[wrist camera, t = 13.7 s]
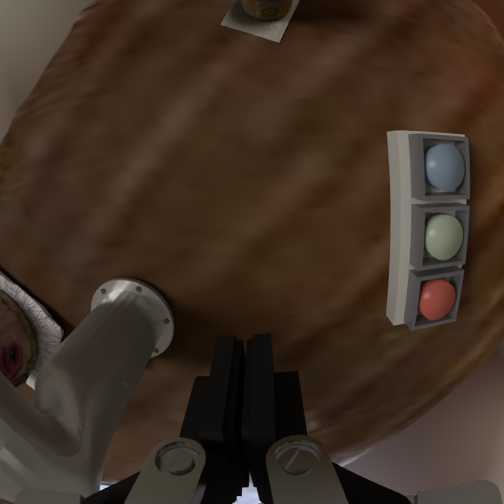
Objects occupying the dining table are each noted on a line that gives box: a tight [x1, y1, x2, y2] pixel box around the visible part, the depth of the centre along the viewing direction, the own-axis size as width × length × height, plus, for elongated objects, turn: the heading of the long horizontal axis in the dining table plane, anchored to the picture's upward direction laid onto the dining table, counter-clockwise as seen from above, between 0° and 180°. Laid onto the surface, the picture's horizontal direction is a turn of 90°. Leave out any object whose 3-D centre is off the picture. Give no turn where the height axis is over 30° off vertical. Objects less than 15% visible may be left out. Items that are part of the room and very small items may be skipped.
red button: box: [418, 278, 456, 320], centre depth 33 cm, size 5×5×2 cm
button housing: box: [386, 131, 470, 331], centre depth 33 cm, size 24×10×6 cm, turn 6°
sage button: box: [424, 213, 463, 260], centre depth 31 cm, size 5×5×2 cm
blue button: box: [424, 144, 465, 191], centre depth 28 cm, size 5×5×2 cm
